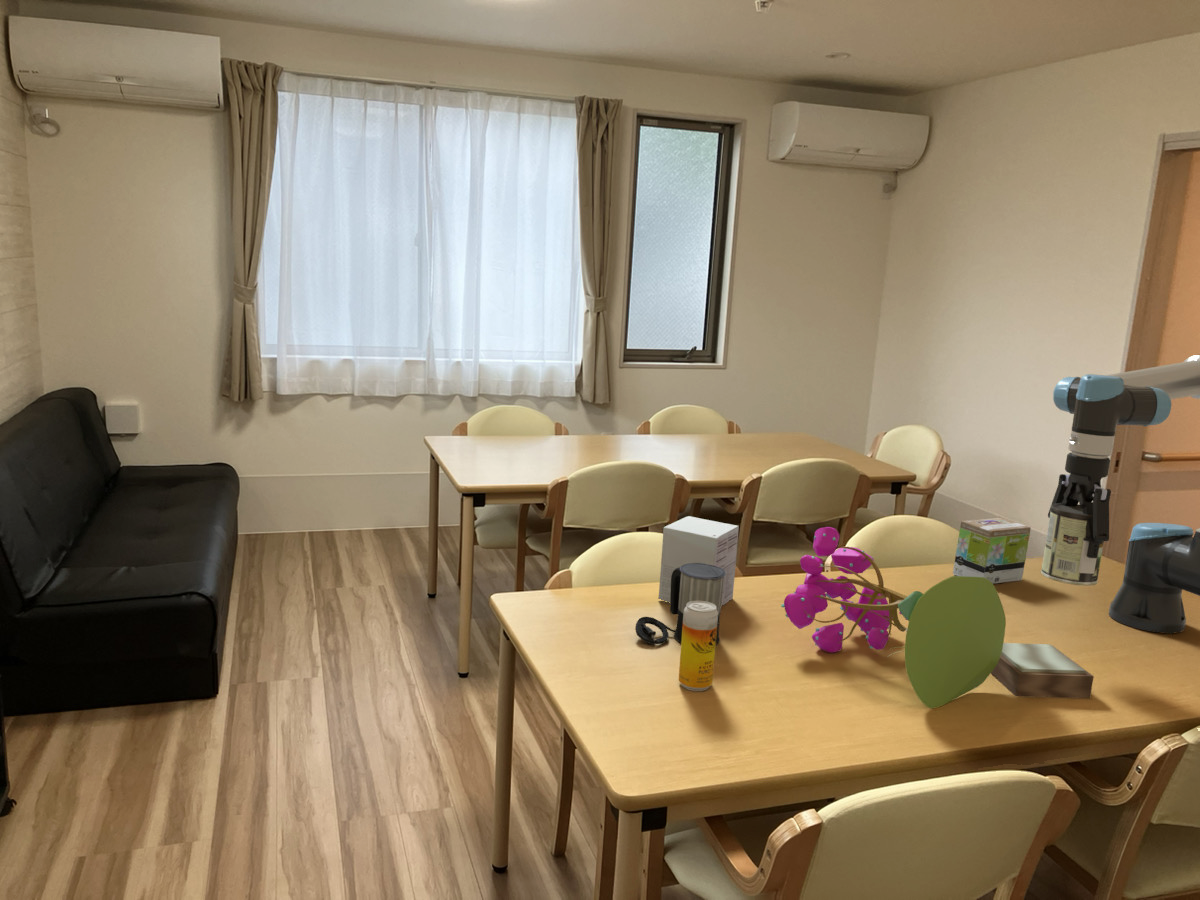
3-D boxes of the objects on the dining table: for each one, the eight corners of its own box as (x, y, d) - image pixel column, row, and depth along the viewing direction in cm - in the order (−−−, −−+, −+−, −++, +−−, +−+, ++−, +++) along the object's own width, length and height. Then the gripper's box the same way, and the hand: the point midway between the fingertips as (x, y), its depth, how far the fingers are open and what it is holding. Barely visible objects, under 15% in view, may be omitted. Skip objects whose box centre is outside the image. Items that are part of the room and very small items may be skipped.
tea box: (983, 587, 227) (991, 530, 224) (951, 574, 236) (958, 520, 233) (1023, 581, 234) (1032, 525, 231) (991, 569, 243) (998, 515, 240)
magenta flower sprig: (919, 538, 155) (779, 516, 185) (890, 704, 153) (753, 654, 183) (1023, 563, 170) (878, 539, 200) (998, 714, 168) (855, 667, 198)
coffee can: (1088, 572, 185) (1099, 505, 182) (1104, 588, 175) (1117, 518, 172) (1034, 566, 187) (1044, 500, 184) (1047, 582, 177) (1058, 512, 174)
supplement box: (734, 598, 209) (740, 525, 205) (710, 615, 198) (717, 538, 194) (682, 586, 215) (687, 515, 212) (656, 601, 204) (662, 526, 201)
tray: (1049, 666, 180) (1052, 642, 179) (1089, 698, 166) (1094, 673, 165) (980, 664, 179) (983, 640, 178) (1015, 696, 165) (1019, 670, 164)
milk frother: (729, 640, 184) (735, 571, 181) (680, 661, 173) (686, 587, 170) (674, 620, 194) (679, 553, 191) (625, 638, 182) (629, 568, 179)
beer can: (703, 695, 159) (709, 614, 156) (672, 686, 162) (678, 606, 159) (717, 683, 164) (724, 605, 161) (687, 674, 167) (693, 597, 164)
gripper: (1040, 442, 187) (1024, 546, 191) (1104, 465, 165) (1084, 582, 169) (1075, 445, 187) (1058, 548, 191) (1144, 467, 165) (1123, 583, 169)
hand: (1070, 564), depth 180 cm, fingers closed on coffee can, 10 cm apart
